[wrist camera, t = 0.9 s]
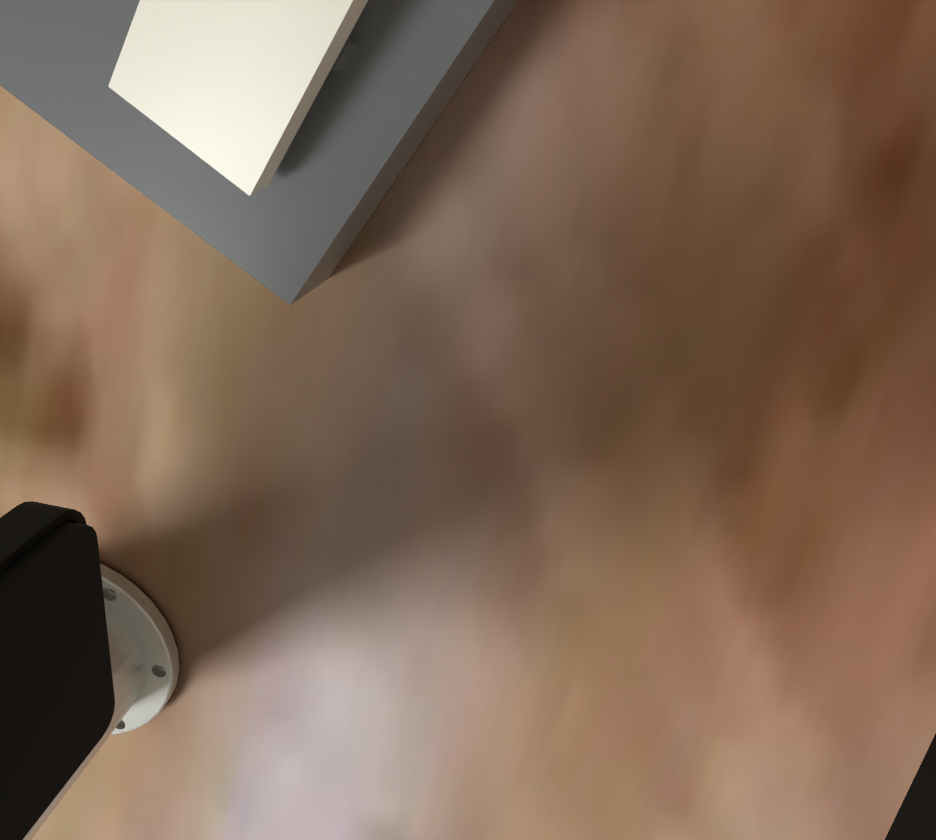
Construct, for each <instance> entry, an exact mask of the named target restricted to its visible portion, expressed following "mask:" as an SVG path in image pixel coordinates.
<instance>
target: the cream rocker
mask: <svg viewBox="0 0 936 840" xmlns="http://www.w3.org/2000/svg"><path fill="white" fill-rule="evenodd" d="M367 1H368V0H140V1H139V4H138V7H137V9H136V12H135V15H134V18H133V20H132V23H131V26H130V28H129V31H128V34H127V37H126V39H125V42H124V45H123V48H122V50H121V53H120V56H119V58H118V61H117V64H116V67H115V69H114V72H113V75H112V78H111V80H110V83H109V86H108V87H109V88H111V89H112V90H113V91H115V92H116V93H117V94H118V95H120V96H121V97H122V98H124V99H125V100H126V101H128V102H129V103H130V104H131V105H133V106H134V107H135V108H137V109H138V110H139V111H140V112H142V113H143V114H144V115H146V116H147V117H148V118H149V119H151V120H152V121H153V122H155V123H156V124H157V125H159V126H160V127H161V128H162V129H164V130H165V131H166V132H168V133H169V134H170V135H171V136H173V137H174V138H175V139H177V140H178V141H179V142H180V143H182V144H183V145H184V146H186V147H187V148H188V149H190V150H191V151H192V152H193V153H195V154H196V155H197V156H199V157H200V158H201V159H202V160H204V161H205V162H206V163H208V164H209V165H210V166H211V167H213V168H214V169H215V170H217V171H218V172H219V173H221V174H222V175H223V176H224V177H226V178H227V179H228V180H230V181H231V182H232V183H233V184H235V185H236V186H237V187H239V188H240V189H241V190H242V191H244V192H245V193H246V194H248V195H249V196H251V195H253V194H255V193H256V192H258V191H260V190H262V189H264V188H266V187H267V186H268V185H269V183H270V181H271V179H272V178H273V176H274V174H275V172H276V170H277V168H278V166H279V165H280V163H281V161H282V159H283V157H284V155H285V154H286V152H287V150H288V148H289V146H290V144H291V142H292V141H293V139H294V137H295V135H296V133H297V131H298V129H299V128H300V126H301V124H302V122H303V120H304V118H305V116H306V115H307V113H308V111H309V109H310V107H311V105H312V103H313V102H314V100H315V98H316V96H317V94H318V92H319V90H320V89H321V87H322V85H323V83H324V81H325V79H326V77H327V76H328V74H329V72H330V70H331V68H332V66H333V64H334V63H335V61H336V59H337V57H338V55H339V53H340V51H341V50H342V48H343V46H344V44H345V42H346V40H347V39H348V37H349V35H350V33H351V31H352V29H353V27H354V26H355V24H356V22H357V20H358V18H359V16H360V14H361V13H362V11H363V9H364V7H365V5H366V3H367Z"/></svg>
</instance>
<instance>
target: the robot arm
mask: <svg viewBox="0 0 936 840" xmlns="http://www.w3.org/2000/svg"><path fill="white" fill-rule="evenodd" d="M178 674H179V657H178V650H177V647H176V643H175V640H174V637H173V634H172V632H171V630H170V628H169V626H168V624H167V622H166V620H165V618H164V617H163V616H162V614H161V613H160V612H159V610H158V609H157V608H156V606H155V605H154V603H153V602H152V601H151V600H150V599H149V598H148V597H147V596H146V595H145V594H144V593H143V592H142V591H141V590H140V589H139V588H138V587H137V586H136V585H134V584H133V583H132V582H130V581H129V580H128V579H126V578H125V577H123V576H122V575H121V574H119V573H117V572H116V571H114V570H112V569H110V568H108V567H106V566H104V565H103V564H101V563H100V559H99V549H98V540H97V535H96V532H95V530H94V529H93V527H90V526H88V525H86V521H85V518H84V517H83V515H82V514H81V513H80V512H78V511H76V510H73V509H68V508H63V507H58V506H53V505H48V504H43V503H38V502H24V503H22V504H20V505H18V506H16V507H15V508H13V509H12V510H11V511H9V512H8V513H6V514H5V515H4V516H2V517H1V518H0V840H31V839H32V838H33V836H34V835H35V834H36V832H37V831H38V830H39V828H40V827H41V826H42V824H43V823H44V822H45V820H46V819H47V818H48V816H49V815H50V814H51V813H52V811H53V810H54V809H55V807H56V806H57V805H58V803H59V802H60V801H61V799H62V798H63V797H64V795H65V794H66V793H67V791H68V790H69V789H70V787H71V786H72V785H73V783H74V782H75V781H76V779H77V778H78V777H79V775H80V774H81V773H82V771H83V770H84V769H85V768H86V766H87V765H88V764H89V762H90V761H91V760H92V758H93V757H94V756H95V754H96V753H97V752H98V750H99V749H100V748H101V746H102V745H103V744H104V742H105V741H106V740H107V738H108V737H109V736H110V735H111V734H121V733H125V732H129V731H132V730H135V729H138V728H140V727H141V726H143V725H145V724H147V723H149V722H150V721H151V720H152V719H153V718H154V717H156V716H157V715H158V714H159V713H160V712H161V710H162V709H163V708H164V706H165V705H166V703H167V702H168V700H169V699H170V698H171V696H172V694H173V691H174V689H175V687H176V684H177V681H178ZM885 840H936V734H935V736H934V738H933V740H932V742H931V745H930V747H929V749H928V751H927V753H926V755H925V757H924V759H923V761H922V763H921V765H920V767H919V770H918V772H917V774H916V776H915V778H914V780H913V782H912V784H911V786H910V788H909V790H908V792H907V795H906V797H905V799H904V801H903V803H902V805H901V807H900V809H899V811H898V813H897V815H896V818H895V820H894V822H893V824H892V826H891V828H890V830H889V832H888V834H887V836H886V838H885Z"/></svg>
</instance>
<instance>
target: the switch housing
mask: <svg viewBox="0 0 936 840" xmlns="http://www.w3.org/2000/svg"><path fill="white" fill-rule="evenodd" d="M139 1H140V0H0V86H2V87H3V88H4V89H6V90H7V91H8V92H10V93H11V94H12V95H14V96H15V97H16V98H18V99H19V100H20V101H22V102H23V103H24V104H25V105H27V106H28V107H29V108H31V109H32V110H33V111H35V112H36V113H37V114H39V115H40V116H41V117H43V118H44V119H45V120H47V121H48V122H49V123H51V124H52V125H53V126H54V127H56V128H57V129H58V130H60V131H61V132H62V133H64V134H65V135H66V136H68V137H69V138H70V139H72V140H73V141H74V142H76V143H77V144H78V145H79V146H81V147H82V148H83V149H85V150H86V151H87V152H89V153H90V154H91V155H93V156H94V157H95V158H97V159H98V160H99V161H101V162H102V163H103V164H104V165H106V166H107V167H108V168H110V169H111V170H112V171H114V172H115V173H116V174H118V175H119V176H120V177H122V178H123V179H124V180H126V181H127V182H128V183H129V184H131V185H132V186H133V187H135V188H136V189H137V190H139V191H140V192H141V193H143V194H144V195H145V196H147V197H148V198H149V199H151V200H152V201H153V202H155V203H156V204H157V205H158V206H160V207H161V208H162V209H164V210H165V211H166V212H168V213H169V214H170V215H172V216H173V217H174V218H176V219H177V220H178V221H180V222H181V223H182V224H183V225H185V226H186V227H187V228H189V229H190V230H191V231H193V232H194V233H195V234H197V235H198V236H199V237H201V238H202V239H203V240H205V241H206V242H207V243H208V244H210V245H211V246H212V247H214V248H215V249H216V250H218V251H219V252H220V253H222V254H223V255H224V256H226V257H227V258H228V259H230V260H231V261H232V262H234V263H235V264H236V265H237V266H239V267H240V268H241V269H243V270H244V271H245V272H247V273H248V274H249V275H251V276H252V277H253V278H255V279H256V280H257V281H259V282H260V283H261V284H262V285H264V286H265V287H266V288H268V289H269V290H270V291H272V292H273V293H274V294H276V295H277V296H278V297H280V298H281V299H282V300H284V301H285V302H286V303H287V304H289V305H291V304H293V303H294V302H296V301H297V300H298V299H300V298H301V297H303V296H304V295H305V294H307V293H308V292H310V291H311V290H313V289H314V288H315V287H317V286H318V285H320V284H321V283H322V282H324V281H325V280H327V279H328V278H329V277H330V276H331V274H332V273H333V271H334V270H335V268H336V267H337V265H338V264H339V262H340V261H341V259H342V258H343V256H344V255H345V254H346V252H347V251H348V249H349V248H350V246H351V245H352V243H353V242H354V240H355V239H356V237H357V236H358V235H359V233H360V232H361V230H362V229H363V227H364V226H365V224H366V223H367V221H368V220H369V218H370V217H371V216H372V214H373V213H374V211H375V210H376V208H377V207H378V205H379V204H380V202H381V201H382V199H383V198H384V196H385V195H386V194H387V192H388V191H389V189H390V188H391V186H392V185H393V183H394V182H395V180H396V179H397V177H398V176H399V175H400V173H401V172H402V170H403V169H404V167H405V166H406V164H407V163H408V161H409V160H410V158H411V157H412V156H413V154H414V153H415V151H416V150H417V148H418V147H419V145H420V144H421V142H422V141H423V139H424V138H425V136H426V135H427V134H428V132H429V131H430V129H431V128H432V126H433V125H434V123H435V122H436V120H437V119H438V117H439V116H440V115H441V113H442V112H443V110H444V109H445V107H446V106H447V104H448V103H449V101H450V100H451V98H452V97H453V95H454V94H455V93H456V91H457V90H458V88H459V87H460V85H461V84H462V82H463V81H464V79H465V78H466V76H467V75H468V74H469V72H470V71H471V69H472V68H473V66H474V65H475V63H476V62H477V60H478V59H479V57H480V56H481V55H482V53H483V52H484V50H485V49H486V47H487V46H488V44H489V43H490V41H491V40H492V38H493V37H494V35H495V34H496V33H497V31H498V30H499V28H500V27H501V25H502V24H503V22H504V21H505V19H506V18H507V16H508V15H509V14H510V12H511V11H512V9H513V8H514V6H515V5H516V3H517V2H518V0H368V1H367V3H366V5H365V7H364V9H363V11H362V13H361V14H360V16H359V18H358V20H357V22H356V24H355V26H354V27H353V29H352V31H351V33H350V35H349V37H348V39H347V40H346V42H345V44H344V46H343V48H342V50H341V51H340V53H339V55H338V57H337V59H336V61H335V63H334V64H333V66H332V68H331V70H330V72H329V74H328V76H327V77H326V79H325V81H324V83H323V85H322V87H321V89H320V90H319V92H318V94H317V96H316V98H315V100H314V102H313V103H312V105H311V107H310V109H309V111H308V113H307V115H306V116H305V118H304V120H303V122H302V124H301V126H300V128H299V129H298V131H297V133H296V135H295V137H294V139H293V141H292V142H291V144H290V146H289V148H288V150H287V152H286V154H285V155H284V157H283V159H282V161H281V163H280V165H279V166H278V168H277V170H276V172H275V174H274V176H273V178H272V179H271V181H270V183H269V185H268V186H267V187H266V188H264V189H262V190H260V191H258V192H256V193H255V194H253V195H251V196H249V195H248V194H246V193H245V192H244V191H242V190H241V189H240V188H239V187H237V186H236V185H235V184H233V183H232V182H231V181H230V180H228V179H227V178H226V177H224V176H223V175H222V174H221V173H219V172H218V171H217V170H215V169H214V168H213V167H211V166H210V165H209V164H208V163H206V162H205V161H204V160H202V159H201V158H200V157H199V156H197V155H196V154H195V153H193V152H192V151H191V150H190V149H188V148H187V147H186V146H184V145H183V144H182V143H180V142H179V141H178V140H177V139H175V138H174V137H173V136H171V135H170V134H169V133H168V132H166V131H165V130H164V129H162V128H161V127H160V126H159V125H157V124H156V123H155V122H153V121H152V120H151V119H149V118H148V117H147V116H146V115H144V114H143V113H142V112H140V111H139V110H138V109H137V108H135V107H134V106H133V105H131V104H130V103H129V102H128V101H126V100H125V99H124V98H122V97H121V96H120V95H118V94H117V93H116V92H115V91H113V90H112V89H111V88H109V87H108V86H109V83H110V80H111V78H112V75H113V72H114V69H115V67H116V64H117V61H118V58H119V56H120V53H121V50H122V48H123V45H124V42H125V39H126V37H127V34H128V31H129V28H130V26H131V23H132V20H133V18H134V15H135V12H136V9H137V7H138V4H139Z"/></svg>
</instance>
